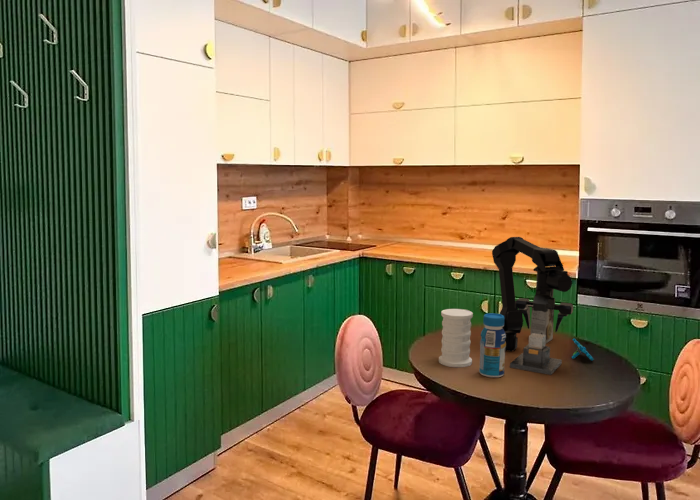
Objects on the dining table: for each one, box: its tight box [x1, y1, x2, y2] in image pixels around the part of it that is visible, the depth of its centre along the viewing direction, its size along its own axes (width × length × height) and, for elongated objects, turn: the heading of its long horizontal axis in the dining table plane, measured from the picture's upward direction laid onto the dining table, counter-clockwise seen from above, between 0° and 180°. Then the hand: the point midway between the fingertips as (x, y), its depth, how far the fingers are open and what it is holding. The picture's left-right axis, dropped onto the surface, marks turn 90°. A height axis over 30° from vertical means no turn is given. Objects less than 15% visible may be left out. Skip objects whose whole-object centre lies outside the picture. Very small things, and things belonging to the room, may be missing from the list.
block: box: [527, 333, 547, 351], centre depth 216 cm, size 5×5×9 cm
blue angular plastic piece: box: [571, 338, 595, 361], centre depth 225 cm, size 11×6×10 cm
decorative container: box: [438, 308, 474, 368], centre depth 218 cm, size 12×12×18 cm
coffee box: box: [530, 307, 555, 344], centre depth 247 cm, size 9×6×16 cm
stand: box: [509, 343, 562, 376], centre depth 216 cm, size 14×14×7 cm
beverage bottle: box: [478, 312, 506, 378], centre depth 206 cm, size 8×8×20 cm
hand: (542, 330), depth 215 cm, fingers open, 9 cm apart
